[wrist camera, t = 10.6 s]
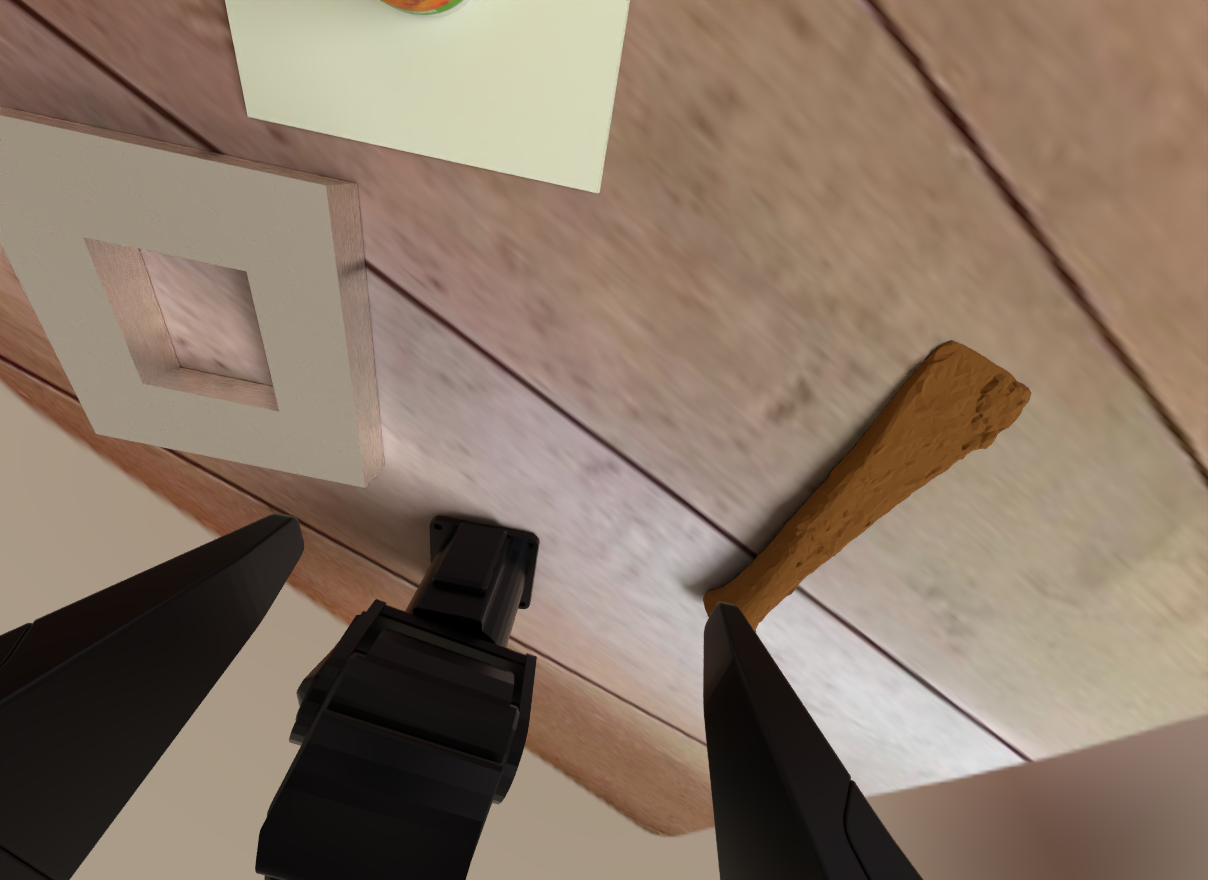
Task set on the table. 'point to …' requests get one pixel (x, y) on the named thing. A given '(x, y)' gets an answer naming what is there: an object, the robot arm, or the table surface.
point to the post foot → (206, 234)
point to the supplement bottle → (427, 6)
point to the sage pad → (442, 78)
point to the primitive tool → (884, 470)
